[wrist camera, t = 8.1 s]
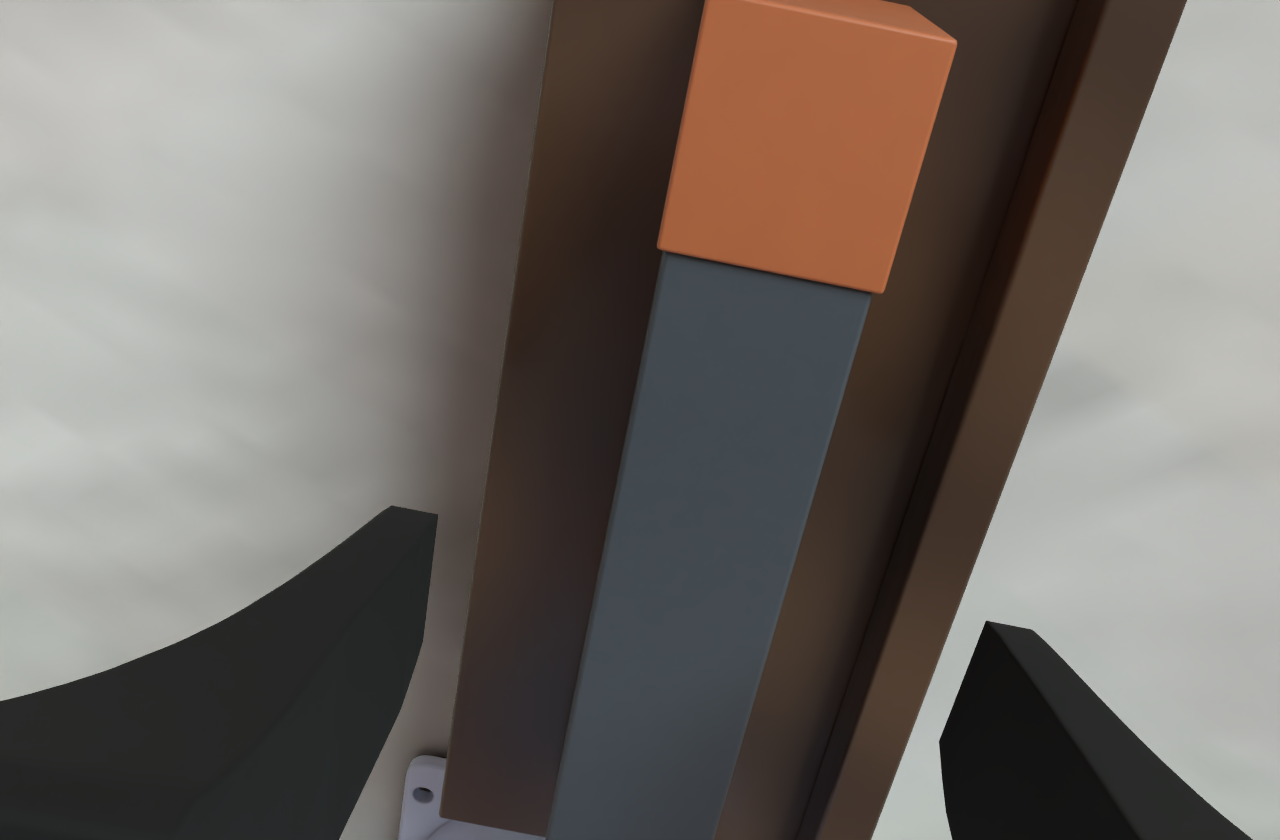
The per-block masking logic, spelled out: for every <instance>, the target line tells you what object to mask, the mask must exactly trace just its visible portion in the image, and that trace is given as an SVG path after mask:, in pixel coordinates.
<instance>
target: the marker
mask: <svg viewBox="0 0 1280 840" xmlns="http://www.w3.org/2000/svg"><path fill="white" fill-rule="evenodd" d="M956 48H957V40H955V39H954V38H953V37H951V36H950V35H949V34H947V33H946V32H944V31H943V30H942V29H940V28H939V27H938V26H936V25H935V24H933V23H932V22H931V21H929V20H928V19H927V18H925V17H924V16H922V15H921V14H920V13H918V12H917V11H916V10H914V9H913V8H911V7H910V6H907V5H902V4H897V3H892V2H887V1H882V0H705V3H704V8H703V13H702V18H701V23H700V28H699V33H698V38H697V43H696V48H695V53H694V58H693V64H692V69H691V74H690V79H689V84H688V89H687V94H686V99H685V104H684V109H683V114H682V119H681V124H680V129H679V135H678V140H677V145H676V150H675V155H674V160H673V165H672V170H671V175H670V180H669V185H668V190H667V195H666V200H665V206H664V211H663V216H662V221H661V226H660V231H659V236H658V241H657V248H658V249H659V250H662V255H661V260H660V265H659V270H658V275H657V280H656V285H655V290H654V295H653V300H652V305H651V310H650V315H649V320H648V325H647V330H646V335H645V340H644V345H643V350H642V355H641V360H640V365H639V370H638V375H637V380H636V385H635V390H634V395H633V400H632V405H631V410H630V415H629V420H628V425H627V430H626V435H625V440H624V445H623V450H622V455H621V460H620V465H619V470H618V475H617V480H616V485H615V490H614V495H613V500H612V505H611V510H610V515H609V520H608V525H607V530H606V535H605V540H604V545H603V550H602V555H601V560H600V565H599V570H598V575H597V580H596V585H595V590H594V595H593V600H592V605H591V610H590V615H589V620H588V625H587V630H586V635H585V640H584V645H583V650H582V655H581V660H580V665H579V670H578V675H577V680H576V685H575V690H574V695H573V700H572V705H571V710H570V715H569V720H568V725H567V730H566V735H565V740H564V745H563V750H562V755H561V760H560V765H559V770H558V775H557V780H556V785H555V790H554V796H553V801H552V806H551V811H550V816H549V822H548V827H547V832H546V837H545V840H714V837H715V833H716V830H717V826H718V823H719V820H720V816H721V813H722V809H723V806H724V802H725V799H726V796H727V792H728V789H729V785H730V782H731V778H732V775H733V772H734V768H735V765H736V761H737V758H738V754H739V751H740V748H741V744H742V741H743V737H744V734H745V731H746V727H747V724H748V720H749V717H750V713H751V710H752V707H753V703H754V700H755V696H756V693H757V689H758V686H759V683H760V679H761V676H762V672H763V669H764V665H765V662H766V659H767V655H768V652H769V648H770V645H771V641H772V638H773V635H774V631H775V628H776V624H777V621H778V617H779V614H780V611H781V607H782V604H783V600H784V597H785V593H786V590H787V587H788V583H789V580H790V576H791V573H792V569H793V566H794V563H795V559H796V556H797V552H798V549H799V545H800V542H801V539H802V535H803V532H804V528H805V525H806V521H807V518H808V515H809V511H810V508H811V504H812V501H813V497H814V494H815V491H816V487H817V484H818V480H819V477H820V474H821V470H822V467H823V463H824V460H825V456H826V453H827V450H828V446H829V443H830V439H831V436H832V432H833V429H834V426H835V422H836V419H837V415H838V412H839V408H840V405H841V402H842V398H843V395H844V391H845V388H846V384H847V381H848V378H849V374H850V371H851V367H852V364H853V360H854V357H855V354H856V350H857V347H858V343H859V340H860V336H861V333H862V330H863V326H864V323H865V319H866V316H867V312H868V309H869V306H870V302H871V299H872V293H877V294H881V293H883V292H884V290H885V287H886V284H887V281H888V277H889V274H890V270H891V267H892V264H893V260H894V257H895V254H896V250H897V247H898V243H899V240H900V237H901V233H902V230H903V227H904V223H905V220H906V216H907V213H908V210H909V206H910V203H911V200H912V196H913V193H914V189H915V186H916V183H917V179H918V176H919V173H920V169H921V166H922V162H923V159H924V156H925V152H926V149H927V146H928V142H929V139H930V135H931V132H932V129H933V125H934V122H935V119H936V115H937V112H938V108H939V105H940V102H941V98H942V95H943V92H944V88H945V85H946V81H947V78H948V75H949V71H950V68H951V65H952V61H953V58H954V54H955V51H956Z"/></svg>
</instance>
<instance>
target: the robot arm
mask: <svg viewBox="0 0 1280 840" xmlns="http://www.w3.org/2000/svg"><path fill="white" fill-rule="evenodd" d="M437 519H438V515H437V514H432V513H427V512H422V511H417V510H412V509H406V508H401V507H396V506H390V507H389V508H387V509H385V510H384V511H382V512H381V513H380V514H378V515H377V516H376V517H374V518H373V519H372V520H371V521H369V522H368V523H367V524H365V525H364V526H363V527H362V528H360V529H359V530H358V531H356V532H355V533H354V534H353V535H351V536H350V537H349V538H347V539H346V540H345V541H343V542H342V543H341V544H339V545H338V546H337V547H335V548H334V549H333V550H331V551H330V552H329V553H327V554H326V555H325V556H323V557H322V558H320V559H319V560H317V561H316V562H315V563H313V564H312V565H310V566H309V567H308V568H306V569H305V570H303V571H302V572H300V573H299V574H298V575H296V576H295V577H293V578H292V579H290V580H289V581H287V582H286V583H284V584H283V585H281V586H280V587H278V588H276V589H275V590H273V591H271V592H270V593H268V594H267V595H265V596H263V597H262V598H260V599H259V600H257V601H255V602H254V603H252V604H251V605H249V606H247V607H246V608H244V609H242V610H241V611H239V612H237V613H235V614H234V615H232V616H230V617H228V618H226V619H224V620H223V621H221V622H219V623H217V624H215V625H213V626H211V627H209V628H207V629H205V630H202V631H200V632H198V633H196V634H194V635H192V636H190V637H188V638H186V639H184V640H182V641H179V642H177V643H175V644H173V645H170V646H168V647H165V648H163V649H160V650H158V651H155V652H153V653H150V654H147V655H145V656H142V657H140V658H137V659H135V660H132V661H130V662H127V663H125V664H122V665H120V666H117V667H115V668H112V669H109V670H106V671H104V672H101V673H98V674H95V675H92V676H88V677H85V678H82V679H79V680H76V681H73V682H70V683H67V684H63V685H60V686H56V687H53V688H49V689H46V690H42V691H39V692H35V693H32V694H28V695H24V696H20V697H16V698H12V699H8V700H4V701H0V840H339V838H340V836H341V834H342V832H343V830H344V828H345V826H346V823H347V821H348V819H349V817H350V815H351V813H352V811H353V809H354V807H355V805H356V803H357V800H358V798H359V796H360V794H361V792H362V790H363V788H364V786H365V784H366V782H367V780H368V777H369V775H370V773H371V771H372V769H373V767H374V765H375V763H376V761H377V759H378V757H379V754H380V752H381V750H382V748H383V746H384V744H385V742H386V740H387V738H388V735H389V733H390V731H391V729H392V727H393V725H394V723H395V720H396V718H397V716H398V714H399V712H400V710H401V707H402V704H403V701H404V698H405V695H406V692H407V690H408V687H409V684H410V681H411V678H412V674H413V671H414V668H415V665H416V662H417V659H418V656H419V653H420V649H421V646H422V643H423V637H424V628H425V620H426V611H427V603H428V595H429V586H430V578H431V570H432V561H433V553H434V544H435V536H436V528H437ZM939 745H940V757H941V769H942V781H943V789H944V798H945V806H946V814H947V818H948V822H949V827H950V831H951V835H952V839H953V840H1252V839H1251V838H1250V837H1249V836H1247V835H1246V834H1245V833H1244V832H1242V831H1241V830H1240V829H1239V828H1237V827H1236V826H1235V825H1234V824H1233V823H1231V822H1230V821H1229V820H1228V819H1226V818H1225V817H1224V816H1223V815H1221V814H1220V813H1219V812H1218V811H1217V810H1216V809H1214V808H1213V807H1212V806H1211V805H1210V804H1209V803H1207V802H1206V801H1205V800H1204V799H1203V798H1202V797H1201V796H1199V795H1198V794H1197V793H1196V792H1195V791H1194V790H1193V789H1192V788H1191V787H1190V786H1189V785H1187V784H1186V783H1185V782H1184V781H1183V780H1182V779H1181V778H1180V777H1179V776H1178V775H1177V774H1176V773H1174V772H1173V771H1172V770H1171V769H1170V768H1169V767H1168V766H1167V765H1166V764H1165V763H1164V762H1163V761H1162V760H1160V759H1159V758H1158V757H1157V756H1156V755H1155V754H1154V753H1153V752H1152V751H1151V750H1150V749H1149V748H1148V747H1147V746H1146V745H1145V744H1144V743H1143V742H1142V741H1141V740H1140V739H1139V738H1138V737H1137V736H1136V735H1135V734H1134V733H1133V732H1132V731H1131V730H1130V729H1129V728H1128V727H1127V726H1126V725H1125V724H1124V723H1123V722H1122V721H1121V720H1120V719H1119V718H1118V717H1117V716H1116V715H1115V714H1114V713H1113V711H1112V710H1111V709H1110V708H1109V707H1108V706H1107V705H1106V704H1105V703H1104V702H1103V701H1102V700H1101V699H1100V698H1099V697H1098V696H1097V695H1096V694H1095V693H1094V692H1093V691H1092V689H1091V688H1090V687H1089V686H1088V685H1087V684H1086V683H1085V682H1084V681H1083V680H1082V679H1081V678H1080V677H1079V676H1078V675H1077V674H1076V673H1075V672H1074V670H1073V669H1072V668H1071V667H1070V666H1069V665H1068V664H1067V663H1066V662H1065V661H1064V660H1063V659H1062V658H1061V657H1060V656H1059V655H1058V654H1057V653H1056V652H1055V651H1054V650H1053V649H1052V648H1051V647H1050V646H1049V645H1048V644H1047V643H1046V642H1045V641H1044V640H1043V639H1042V638H1041V637H1040V636H1039V635H1038V634H1036V633H1035V632H1034V631H1033V630H1031V629H1026V628H1021V627H1015V626H1010V625H1005V624H1000V623H995V622H990V621H986V622H985V625H984V627H983V630H982V633H981V635H980V638H979V640H978V643H977V645H976V648H975V651H974V653H973V656H972V658H971V661H970V663H969V666H968V669H967V671H966V674H965V676H964V679H963V681H962V684H961V687H960V689H959V692H958V694H957V697H956V699H955V702H954V705H953V707H952V710H951V712H950V715H949V717H948V720H947V723H946V725H945V728H944V730H943V733H942V735H941V738H940V741H939ZM445 767H446V758H440V757H435V756H428V755H422V756H419V757H416V758H414V759H413V760H412V761H411V763H410V765H409V768H408V770H407V773H406V778H405V786H404V794H403V803H402V811H401V819H400V828H399V836H398V840H545V838H544V837H539V836H534V835H528V834H523V833H518V832H513V831H507V830H502V829H497V828H492V827H486V826H481V825H476V824H471V823H465V822H460V821H455V820H450V819H445V818H441V817H440V816H439V809H440V802H441V795H442V788H443V781H444V774H445ZM419 787H425V788H427V789H429V790H430V791H431V792H426V791H423V790H421V789H420V788H419Z"/></svg>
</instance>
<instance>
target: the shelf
mask: <svg viewBox="0 0 1280 840" xmlns="http://www.w3.org/2000/svg"><path fill="white" fill-rule="evenodd" d="M882 1H887V2H892V3H897V4H902V5H907V6H910V7H911V8H913V9H914V10H916V11H917V12H918V13H920V14H921V15H922V16H924V17H925V18H927V19H928V20H929V21H931V22H932V23H933V24H935V25H936V26H938V27H939V28H940V29H942V30H943V31H944V32H946V33H947V34H949V35H950V36H951V37H953V38H954V39H955V40H957V48H956V51H955V54H954V58H953V61H952V65H951V68H950V71H949V75H948V78H947V81H946V85H945V88H944V92H943V95H942V98H941V102H940V105H939V108H938V112H937V115H936V119H935V122H934V125H933V129H932V132H931V135H930V139H929V142H928V146H927V149H926V152H925V156H924V159H923V162H922V166H921V169H920V173H919V176H918V179H917V183H916V186H915V189H914V193H913V196H912V200H911V203H910V206H909V210H908V213H907V216H906V220H905V223H904V227H903V230H902V233H901V237H900V240H899V243H898V247H897V250H896V254H895V257H894V260H893V264H892V267H891V270H890V274H889V277H888V281H887V284H886V287H885V290H884V292H883V293H881V294H877V293H872V299H871V302H870V306H869V309H868V312H867V316H866V319H865V323H864V326H863V330H862V333H861V336H860V340H859V343H858V347H857V350H856V354H855V357H854V360H853V364H852V367H851V371H850V374H849V378H848V381H847V384H846V388H845V391H844V395H843V398H842V402H841V405H840V408H839V412H838V415H837V419H836V422H835V426H834V429H833V432H832V436H831V439H830V443H829V446H828V450H827V453H826V456H825V460H824V463H823V467H822V470H821V474H820V477H819V480H818V484H817V487H816V491H815V494H814V497H813V501H812V504H811V508H810V511H809V515H808V518H807V521H806V525H805V528H804V532H803V535H802V539H801V542H800V545H799V549H798V552H797V556H796V559H795V563H794V566H793V569H792V573H791V576H790V580H789V583H788V587H787V590H786V593H785V597H784V600H783V604H782V607H781V611H780V614H779V617H778V621H777V624H776V628H775V631H774V635H773V638H772V641H771V645H770V648H769V652H768V655H767V659H766V662H765V665H764V669H763V672H762V676H761V679H760V683H759V686H758V689H757V693H756V696H755V700H754V703H753V707H752V710H751V713H750V717H749V720H748V724H747V727H746V731H745V734H744V737H743V741H742V744H741V748H740V751H739V754H738V758H737V761H736V765H735V768H734V772H733V775H732V778H731V782H730V785H729V789H728V792H727V796H726V799H725V802H724V806H723V809H722V813H721V816H720V820H719V823H718V826H717V830H716V833H715V837H714V840H871V838H872V836H873V833H874V830H875V828H876V825H877V822H878V820H879V817H880V814H881V812H882V809H883V806H884V804H885V801H886V799H887V796H888V793H889V791H890V788H891V785H892V783H893V780H894V777H895V775H896V772H897V769H898V767H899V764H900V761H901V759H902V756H903V753H904V751H905V748H906V745H907V743H908V740H909V737H910V735H911V732H912V729H913V727H914V724H915V722H916V719H917V716H918V714H919V711H920V708H921V706H922V703H923V700H924V698H925V695H926V692H927V690H928V687H929V684H930V682H931V679H932V676H933V674H934V671H935V668H936V666H937V663H938V660H939V658H940V655H941V652H942V650H943V647H944V644H945V642H946V639H947V637H948V634H949V631H950V629H951V626H952V623H953V621H954V618H955V615H956V613H957V610H958V607H959V605H960V602H961V599H962V597H963V594H964V591H965V589H966V586H967V583H968V581H969V578H970V575H971V573H972V570H973V567H974V565H975V562H976V559H977V557H978V554H979V552H980V549H981V546H982V544H983V541H984V538H985V536H986V533H987V530H988V528H989V525H990V522H991V520H992V517H993V514H994V512H995V509H996V506H997V504H998V501H999V498H1000V496H1001V493H1002V490H1003V488H1004V485H1005V482H1006V480H1007V477H1008V475H1009V472H1010V469H1011V467H1012V464H1013V461H1014V459H1015V456H1016V453H1017V451H1018V448H1019V445H1020V443H1021V440H1022V437H1023V435H1024V432H1025V429H1026V427H1027V424H1028V421H1029V419H1030V416H1031V413H1032V411H1033V408H1034V405H1035V403H1036V400H1037V397H1038V395H1039V392H1040V390H1041V387H1042V384H1043V382H1044V379H1045V376H1046V374H1047V371H1048V368H1049V366H1050V363H1051V360H1052V358H1053V355H1054V352H1055V350H1056V347H1057V344H1058V342H1059V339H1060V336H1061V334H1062V331H1063V328H1064V326H1065V323H1066V320H1067V318H1068V315H1069V312H1070V310H1071V307H1072V305H1073V302H1074V299H1075V297H1076V294H1077V291H1078V289H1079V286H1080V283H1081V281H1082V278H1083V275H1084V273H1085V270H1086V267H1087V265H1088V262H1089V259H1090V257H1091V254H1092V251H1093V249H1094V246H1095V243H1096V241H1097V238H1098V235H1099V233H1100V230H1101V228H1102V225H1103V222H1104V220H1105V217H1106V214H1107V212H1108V209H1109V206H1110V204H1111V201H1112V198H1113V196H1114V193H1115V190H1116V188H1117V185H1118V182H1119V180H1120V177H1121V174H1122V172H1123V169H1124V166H1125V164H1126V161H1127V158H1128V156H1129V153H1130V150H1131V148H1132V145H1133V143H1134V140H1135V137H1136V135H1137V132H1138V129H1139V127H1140V124H1141V121H1142V119H1143V116H1144V113H1145V111H1146V108H1147V105H1148V103H1149V100H1150V97H1151V95H1152V92H1153V89H1154V87H1155V84H1156V81H1157V79H1158V76H1159V73H1160V71H1161V68H1162V65H1163V63H1164V60H1165V58H1166V55H1167V52H1168V50H1169V47H1170V44H1171V42H1172V39H1173V36H1174V34H1175V31H1176V28H1177V26H1178V23H1179V20H1180V18H1181V15H1182V12H1183V10H1184V7H1185V4H1186V2H1187V0H882ZM704 3H705V0H553V2H552V9H551V17H550V24H549V31H548V38H547V45H546V52H545V59H544V67H543V74H542V81H541V88H540V95H539V102H538V109H537V117H536V124H535V131H534V138H533V145H532V152H531V159H530V167H529V174H528V181H527V188H526V195H525V202H524V209H523V217H522V224H521V231H520V238H519V245H518V252H517V259H516V267H515V274H514V281H513V288H512V295H511V302H510V309H509V317H508V324H507V331H506V338H505V345H504V352H503V359H502V367H501V374H500V381H499V388H498V395H497V402H496V409H495V417H494V424H493V431H492V438H491V445H490V452H489V459H488V467H487V474H486V481H485V488H484V495H483V502H482V509H481V517H480V524H479V531H478V538H477V545H476V552H475V559H474V567H473V574H472V581H471V588H470V595H469V602H468V609H467V617H466V624H465V631H464V638H463V645H462V652H461V659H460V667H459V674H458V681H457V688H456V695H455V702H454V709H453V717H452V724H451V731H450V738H449V745H448V752H447V759H446V767H445V774H444V781H443V788H442V795H441V802H440V809H439V816H440V817H441V818H445V819H450V820H455V821H460V822H465V823H471V824H476V825H481V826H486V827H492V828H497V829H502V830H507V831H513V832H518V833H523V834H528V835H534V836H539V837H544V838H545V837H546V832H547V827H548V822H549V816H550V811H551V806H552V801H553V796H554V790H555V785H556V780H557V775H558V770H559V765H560V760H561V755H562V750H563V745H564V740H565V735H566V730H567V725H568V720H569V715H570V710H571V705H572V700H573V695H574V690H575V685H576V680H577V675H578V670H579V665H580V660H581V655H582V650H583V645H584V640H585V635H586V630H587V625H588V620H589V615H590V610H591V605H592V600H593V595H594V590H595V585H596V580H597V575H598V570H599V565H600V560H601V555H602V550H603V545H604V540H605V535H606V530H607V525H608V520H609V515H610V510H611V505H612V500H613V495H614V490H615V485H616V480H617V475H618V470H619V465H620V460H621V455H622V450H623V445H624V440H625V435H626V430H627V425H628V420H629V415H630V410H631V405H632V400H633V395H634V390H635V385H636V380H637V375H638V370H639V365H640V360H641V355H642V350H643V345H644V340H645V335H646V330H647V325H648V320H649V315H650V310H651V305H652V300H653V295H654V290H655V285H656V280H657V275H658V270H659V265H660V260H661V255H662V250H659V249H658V248H657V241H658V236H659V231H660V226H661V221H662V216H663V211H664V206H665V200H666V195H667V190H668V185H669V180H670V175H671V170H672V165H673V160H674V155H675V150H676V145H677V140H678V135H679V129H680V124H681V119H682V114H683V109H684V104H685V99H686V94H687V89H688V84H689V79H690V74H691V69H692V64H693V58H694V53H695V48H696V43H697V38H698V33H699V28H700V23H701V18H702V13H703V8H704Z"/></svg>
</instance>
